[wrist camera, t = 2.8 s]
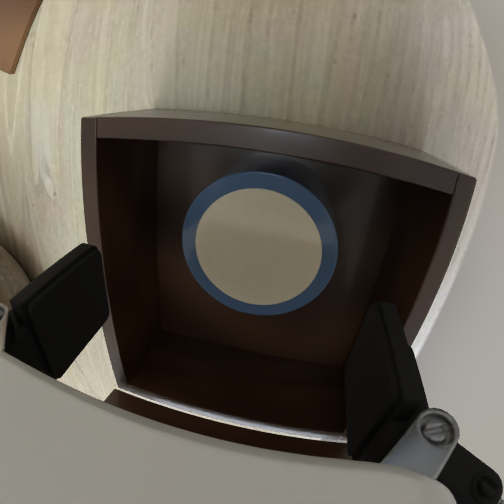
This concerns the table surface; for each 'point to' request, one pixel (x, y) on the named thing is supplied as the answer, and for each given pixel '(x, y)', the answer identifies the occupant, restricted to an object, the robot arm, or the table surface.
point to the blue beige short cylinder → (262, 236)
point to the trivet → (14, 30)
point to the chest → (239, 323)
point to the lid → (226, 429)
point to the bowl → (10, 278)
